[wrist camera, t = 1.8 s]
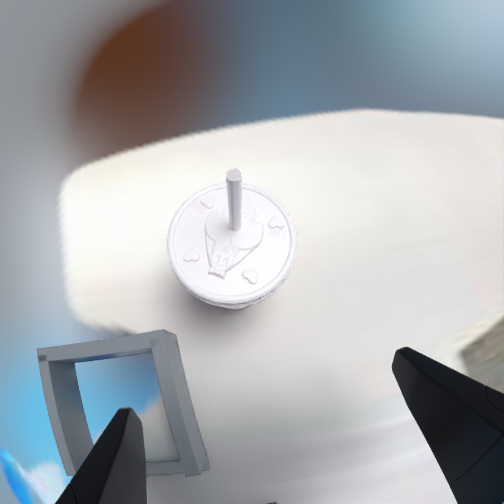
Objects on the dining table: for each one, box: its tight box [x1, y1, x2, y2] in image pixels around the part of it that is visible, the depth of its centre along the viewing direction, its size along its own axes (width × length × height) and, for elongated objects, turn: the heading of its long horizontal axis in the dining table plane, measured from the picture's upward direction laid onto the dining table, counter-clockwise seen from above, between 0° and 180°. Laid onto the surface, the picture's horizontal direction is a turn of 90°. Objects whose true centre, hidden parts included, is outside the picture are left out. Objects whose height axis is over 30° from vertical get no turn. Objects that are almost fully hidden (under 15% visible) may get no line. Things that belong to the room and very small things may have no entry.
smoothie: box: [167, 168, 297, 310], centre depth 17 cm, size 6×6×14 cm
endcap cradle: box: [37, 330, 210, 476], centre depth 17 cm, size 11×10×4 cm
